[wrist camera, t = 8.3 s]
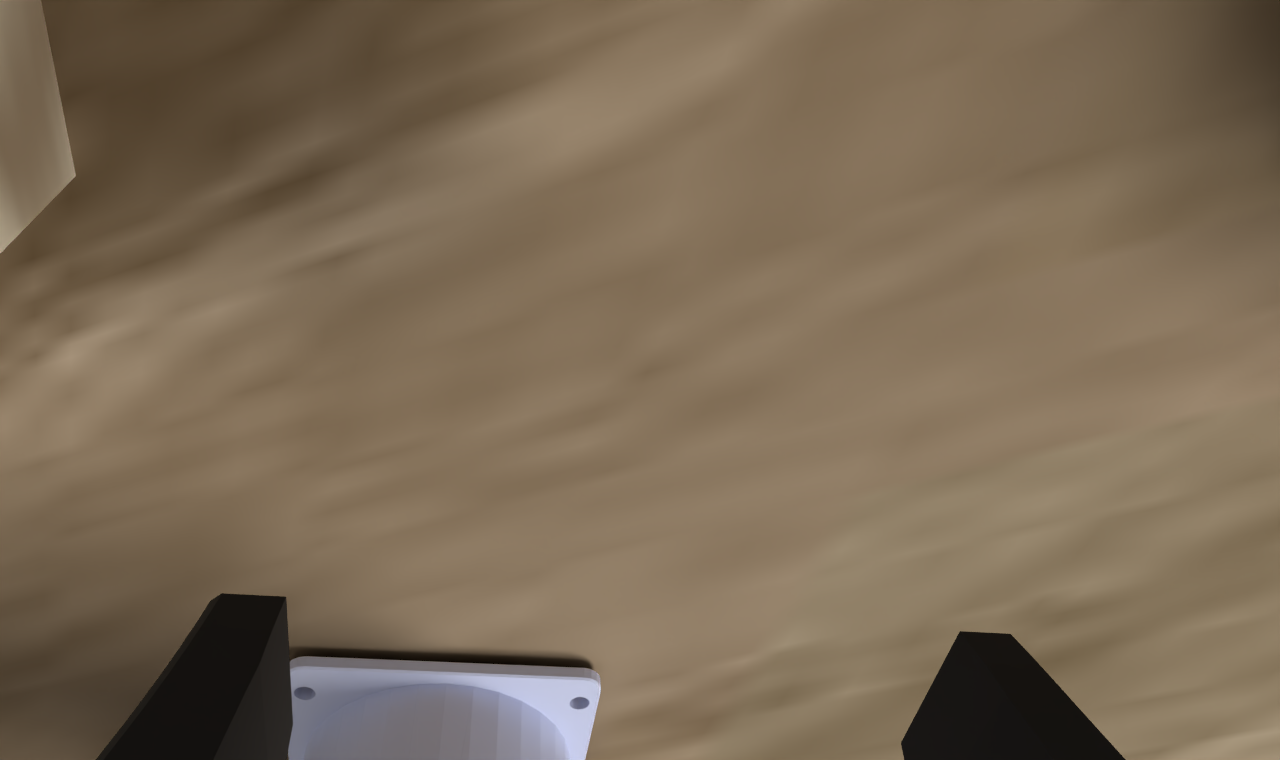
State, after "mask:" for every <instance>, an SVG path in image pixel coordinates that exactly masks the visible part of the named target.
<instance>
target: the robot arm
mask: <svg viewBox="0 0 1280 760" xmlns="http://www.w3.org/2000/svg"><path fill="white" fill-rule="evenodd" d="M600 692H601V685H600V676H599V675H598V673H597V672H595V671H593V670H592V669H588V668H578V667H554V666H530V665H506V664H482V663H458V662H434V661H410V660H386V659H362V658H338V657H314V656H303V657H298V658H295V659H292V660H291V661H290V659H289V641H288V623H287V605H286V597H279V596H259V595H240V594H220V595H219V596H217V597H216V598H214V599H213V600H211V601H210V603H209V604H208V606H207V607H206V609H205V610H204V612H203V614H202V615H201V617H200V618H199V620H198V621H197V623H196V624H195V626H194V627H193V629H192V630H191V632H190V633H189V635H188V636H187V638H186V639H185V641H184V642H183V644H182V645H181V647H180V648H179V650H178V651H177V652H176V654H175V655H174V657H173V658H172V660H171V661H170V662H169V664H168V665H167V667H166V668H165V669H164V671H163V672H162V674H161V675H160V676H159V678H158V679H157V681H156V682H155V683H154V685H153V686H152V687H151V689H150V690H149V691H148V693H147V694H146V695H145V697H144V698H143V699H142V701H141V702H140V703H139V705H138V706H137V708H136V709H135V710H134V712H133V713H132V714H131V716H130V717H129V718H128V720H127V721H126V722H125V724H124V725H123V726H122V727H121V729H120V730H119V731H118V732H117V734H116V735H115V736H114V737H113V739H112V740H111V741H110V742H109V744H108V745H107V746H106V748H105V749H104V750H103V751H102V753H101V754H100V755H99V756H98V758H97V759H96V760H286V759H287V753H288V757H289V760H585V758H586V753H587V749H588V745H589V740H590V736H591V731H592V727H593V723H594V718H595V714H596V710H597V705H598V701H599V696H600ZM901 745H902V750H903V755H904V760H1125V759H1124V758H1123V756H1122V755H1121V754H1120V753H1119V752H1118V751H1117V750H1116V749H1115V748H1114V747H1113V745H1112V744H1111V743H1110V742H1109V741H1108V740H1107V739H1106V738H1105V737H1104V736H1103V734H1102V733H1101V732H1100V731H1099V730H1098V729H1097V728H1096V727H1095V726H1094V725H1093V723H1092V722H1091V721H1090V720H1089V719H1088V718H1087V717H1086V716H1085V715H1084V713H1083V712H1082V711H1081V710H1080V709H1079V708H1078V707H1077V706H1076V705H1075V703H1074V702H1073V701H1072V700H1071V699H1070V698H1069V697H1068V696H1067V695H1066V693H1065V692H1064V691H1063V690H1062V689H1061V688H1060V687H1059V686H1058V685H1057V684H1056V682H1055V681H1054V680H1053V679H1052V678H1051V677H1050V676H1049V675H1048V674H1047V673H1046V671H1045V670H1044V669H1043V668H1042V667H1041V666H1040V665H1039V664H1038V663H1037V662H1036V661H1035V659H1034V658H1033V657H1032V656H1031V655H1030V654H1029V653H1028V652H1027V651H1026V650H1025V649H1024V648H1023V647H1022V646H1021V645H1020V643H1019V642H1018V641H1017V640H1016V639H1015V638H1014V637H1013V636H1012V635H1011V634H1000V633H981V632H961V631H960V632H959V634H958V636H957V638H956V640H955V642H954V644H953V646H952V647H951V649H950V651H949V653H948V655H947V657H946V659H945V661H944V663H943V664H942V666H941V668H940V670H939V672H938V674H937V676H936V678H935V680H934V681H933V683H932V685H931V687H930V689H929V691H928V693H927V695H926V697H925V699H924V700H923V702H922V704H921V706H920V708H919V710H918V712H917V714H916V716H915V717H914V719H913V721H912V723H911V725H910V727H909V729H908V731H907V733H906V734H905V736H904V738H903V740H902V742H901Z"/></svg>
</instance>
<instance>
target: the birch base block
mask: <svg viewBox="0 0 1280 760" xmlns="http://www.w3.org/2000/svg"><path fill="white" fill-rule="evenodd" d="M75 176H76V174H75V169H74V164H73V159H72V154H71V149H70V144H69V139H68V134H67V129H66V124H65V119H64V113H63V108H62V103H61V98H60V93H59V88H58V83H57V78H56V73H55V68H54V63H53V58H52V53H51V48H50V43H49V38H48V33H47V28H46V23H45V18H44V13H43V8H42V2H41V0H0V253H1V252H2V251H3V250H4V249H5V248H6V247H7V246H8V245H9V244H10V243H11V242H12V241H13V240H14V239H15V238H16V237H17V236H18V235H19V234H20V233H21V232H22V231H23V230H24V229H25V228H26V227H27V226H28V225H29V224H30V223H31V222H32V221H33V219H34V218H35V217H36V216H37V215H38V214H39V213H40V212H41V211H42V210H43V209H44V208H45V207H46V206H47V205H48V204H49V203H50V202H51V201H52V200H53V199H54V198H55V197H56V196H57V195H58V194H59V193H60V192H61V191H62V190H63V189H64V188H65V187H66V186H67V185H68V184H69V183H70V181H71V180H72V179H73V178H74V177H75Z"/></svg>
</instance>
